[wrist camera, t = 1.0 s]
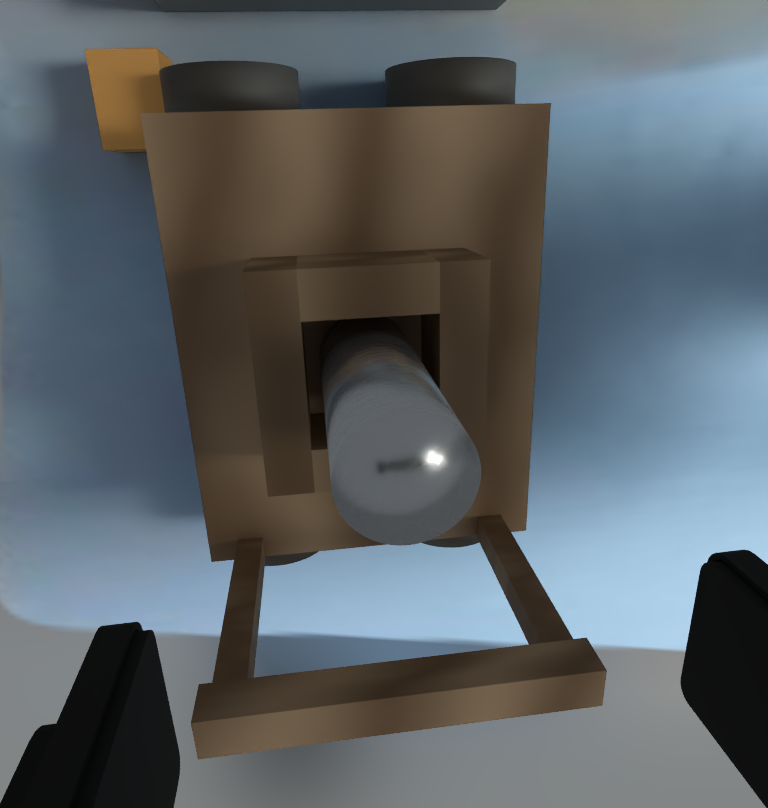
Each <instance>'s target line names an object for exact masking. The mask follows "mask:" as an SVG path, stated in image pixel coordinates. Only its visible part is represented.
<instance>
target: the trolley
mask: <svg viewBox="0 0 768 808" xmlns="http://www.w3.org/2000/svg"><path fill="white" fill-rule="evenodd" d="M159 75H160V82H161V89H162V95H163V102H164V109H165V113H140V115H141V122H142V128H143V134H144V140H145V147H146V153H147V159H148V166H149V172H150V178H151V184H152V191H153V197H154V203H155V209H156V216H157V222H158V228H159V234H160V241H161V247H162V253H163V260H164V266H165V272H166V278H167V285H168V291H169V297H170V303H171V310H172V316H173V322H174V329H175V335H176V341H177V347H178V354H179V360H180V366H181V372H182V379H183V385H184V391H185V398H186V404H187V410H188V416H189V423H190V429H191V435H192V441H193V448H194V454H195V460H196V467H197V473H198V479H199V485H200V492H201V498H202V504H203V510H204V517H205V523H206V529H207V535H208V542H209V548H210V554H211V561H212V562H215V561H225V560H234V565H233V570H232V576H231V581H230V587H229V593H228V598H227V604H226V609H225V615H224V620H223V626H222V632H221V637H220V643H219V648H218V654H217V660H216V665H215V671H214V676H213V682H212V683H207V684H199V686H198V691H197V696H196V701H195V706H194V711H193V716H192V721H191V726H192V731H193V735H194V741H195V746H196V751H197V757H198V759H204V758H212V757H219V756H227V755H234V754H241V753H249V752H257V751H265V750H272V749H279V748H287V747H294V746H302V745H310V744H317V743H325V742H332V741H340V740H347V739H354V738H362V737H369V736H377V735H385V734H392V733H400V732H407V731H414V730H422V729H430V728H438V727H445V726H452V725H460V724H468V723H475V722H482V721H490V720H498V719H505V718H513V717H520V716H528V715H535V714H543V713H550V712H558V711H565V710H573V709H580V708H588V707H595V706H602V704H603V696H604V687H605V680H606V672H607V671H606V669H605V667H604V665H603V664H602V662H601V660H600V659H599V657H598V656H597V654H596V652H595V651H594V649H593V647H592V646H591V644H590V643H589V641H588V639H587V638H580V639H573V638H572V636H571V634H570V633H569V631H568V629H567V627H566V626H565V624H564V622H563V621H562V619H561V617H560V615H559V614H558V612H557V610H556V609H555V607H554V605H553V603H552V602H551V600H550V598H549V597H548V595H547V593H546V592H545V590H544V588H543V586H542V585H541V583H540V581H539V580H538V578H537V576H536V574H535V573H534V571H533V569H532V568H531V566H530V564H529V562H528V561H527V559H526V557H525V556H524V554H523V552H522V550H521V549H520V547H519V545H518V544H517V542H516V540H515V538H514V537H513V535H512V533H511V532H515V531H525V530H526V521H527V504H528V486H529V469H530V452H531V435H532V417H533V400H534V383H535V366H536V348H537V331H538V314H539V297H540V279H541V262H542V245H543V227H544V210H545V193H546V176H547V158H548V141H549V124H550V107H551V103H543V104H515V83H516V63H515V62H513V61H510V60H506V59H500V58H489V57H453V58H438V59H428V60H420V61H413V62H408V63H403V64H399V65H395V66H392V67H390V68H388V69H386V71H385V82H386V107H377V108H336V109H300V96H299V82H298V71H297V70H296V69H294V68H292V67H289V66H285V65H280V64H274V63H265V62H252V61H205V62H192V63H183V64H177V65H171V66H168V67H165V68H162V69H160V71H159ZM373 317H388V318H389V319H391V320H392V321H393V322H395V323H396V324H397V326H398V327H399V328H400V329H401V331H402V332H403V334H404V335H405V337H406V338H407V340H408V341H409V343H410V345H411V346H412V348H413V349H414V351H415V352H416V354H417V355H418V357H419V359H420V360H421V362H422V363H423V365H424V366H425V368H426V369H427V371H428V373H429V374H430V376H431V377H432V379H433V380H434V382H435V383H436V385H437V387H438V388H439V390H440V391H441V393H442V394H443V396H444V397H445V399H446V401H447V402H448V404H449V405H450V407H451V408H452V410H453V411H454V413H455V415H456V416H457V418H458V419H459V421H460V422H461V424H462V426H463V427H464V429H465V430H466V432H467V433H468V435H469V436H470V438H471V440H472V441H473V443H474V445H475V447H476V449H477V452H478V455H479V459H480V464H481V480H480V486H479V490H478V493H477V495H476V498H475V500H474V502H473V504H472V506H471V508H470V509H469V510H468V512H467V513H466V515H465V516H464V517H463V518H462V519H461V520H460V521H459V522H458V523H457V524H456V525H455V526H453V527H452V528H451V529H449V530H448V531H446V532H445V533H443V534H441V535H440V536H438V537H436V538H433V539H431V540H428V541H425V542H421V543H424V544H428V545H432V546H437V547H463V546H469V545H473V544H476V543H479V542H480V544H481V546H482V548H483V550H484V552H485V554H486V556H487V558H488V560H489V563H490V565H491V567H492V569H493V571H494V573H495V575H496V577H497V579H498V581H499V583H500V585H501V587H502V589H503V592H504V594H505V596H506V598H507V600H508V602H509V604H510V606H511V608H512V610H513V612H514V614H515V616H516V618H517V621H518V623H519V625H520V627H521V629H522V631H523V633H524V635H525V637H526V639H527V641H528V643H529V645H522V646H514V647H505V648H497V649H489V650H480V651H472V652H464V653H455V654H447V655H439V656H431V657H422V658H414V659H406V660H399V661H389V662H381V663H372V664H364V665H356V666H348V667H339V668H331V669H323V670H315V671H306V672H298V673H289V674H282V675H273V676H264V677H257V678H254V668H255V658H256V647H257V637H258V627H259V617H260V607H261V597H262V587H263V577H264V567H265V566H277V565H285V564H290V563H294V562H298V561H301V560H303V559H306V558H308V557H310V556H312V555H314V554H315V553H317V552H318V551H325V550H335V549H345V548H355V547H365V546H375V545H385V544H384V543H380V542H376V541H373V540H371V539H369V538H366V537H364V536H363V535H361V534H359V533H358V532H356V531H355V530H354V529H353V528H352V527H350V526H349V525H348V524H347V522H346V521H345V520H344V519H343V517H342V516H341V514H340V513H339V511H338V509H337V507H336V505H335V502H334V499H333V495H332V488H331V478H330V467H329V456H328V446H327V435H326V424H325V413H324V403H323V392H322V381H321V370H320V359H319V352H320V346H321V342H322V340H323V337H324V335H325V334H326V332H327V330H328V329H329V328H330V327H331V326H332V325H333V324H334V323H335V322H336V321H337V320H340V319H357V318H373Z"/></svg>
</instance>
